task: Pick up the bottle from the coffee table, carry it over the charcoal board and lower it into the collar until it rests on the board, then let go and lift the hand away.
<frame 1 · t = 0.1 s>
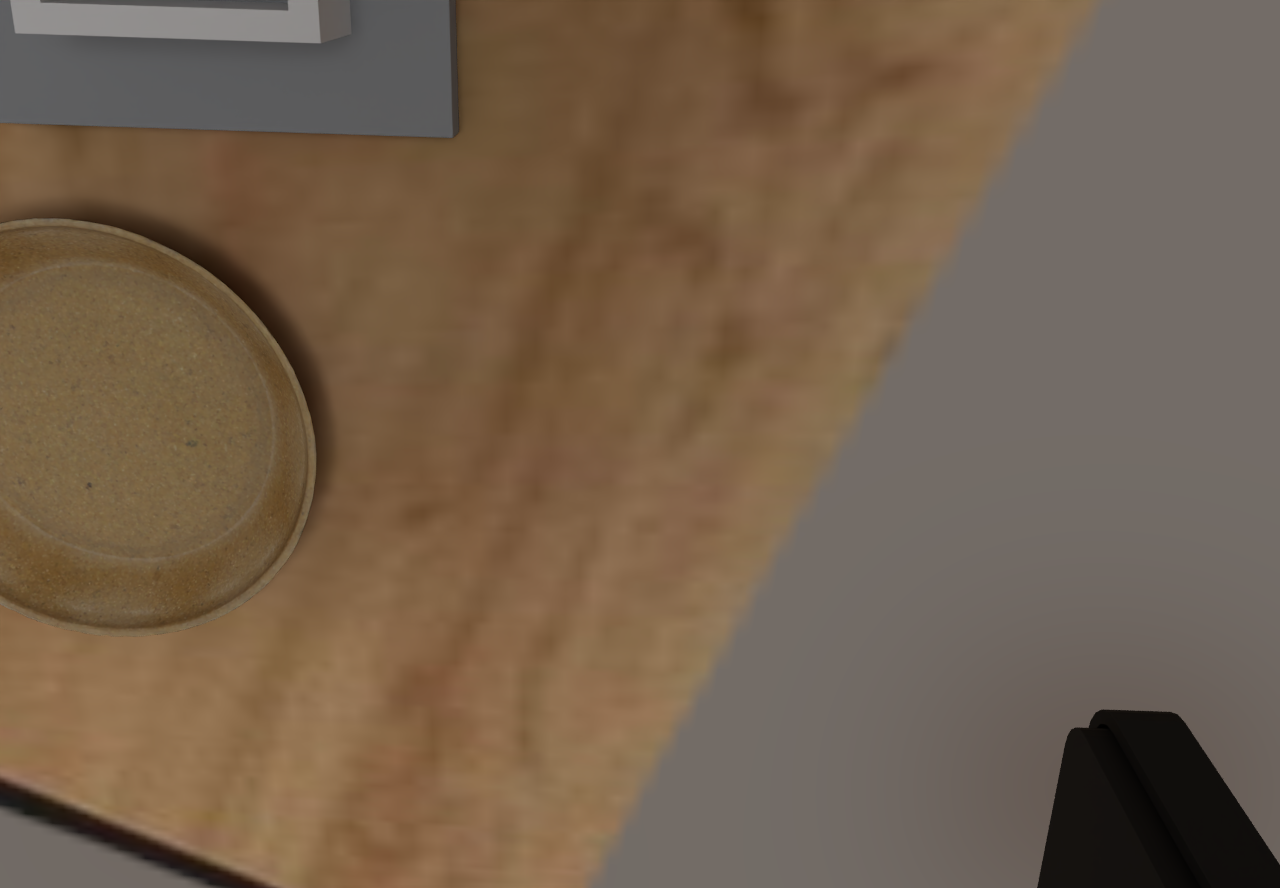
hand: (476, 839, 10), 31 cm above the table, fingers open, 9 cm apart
plant saucer: (123, 412, 43), on the table
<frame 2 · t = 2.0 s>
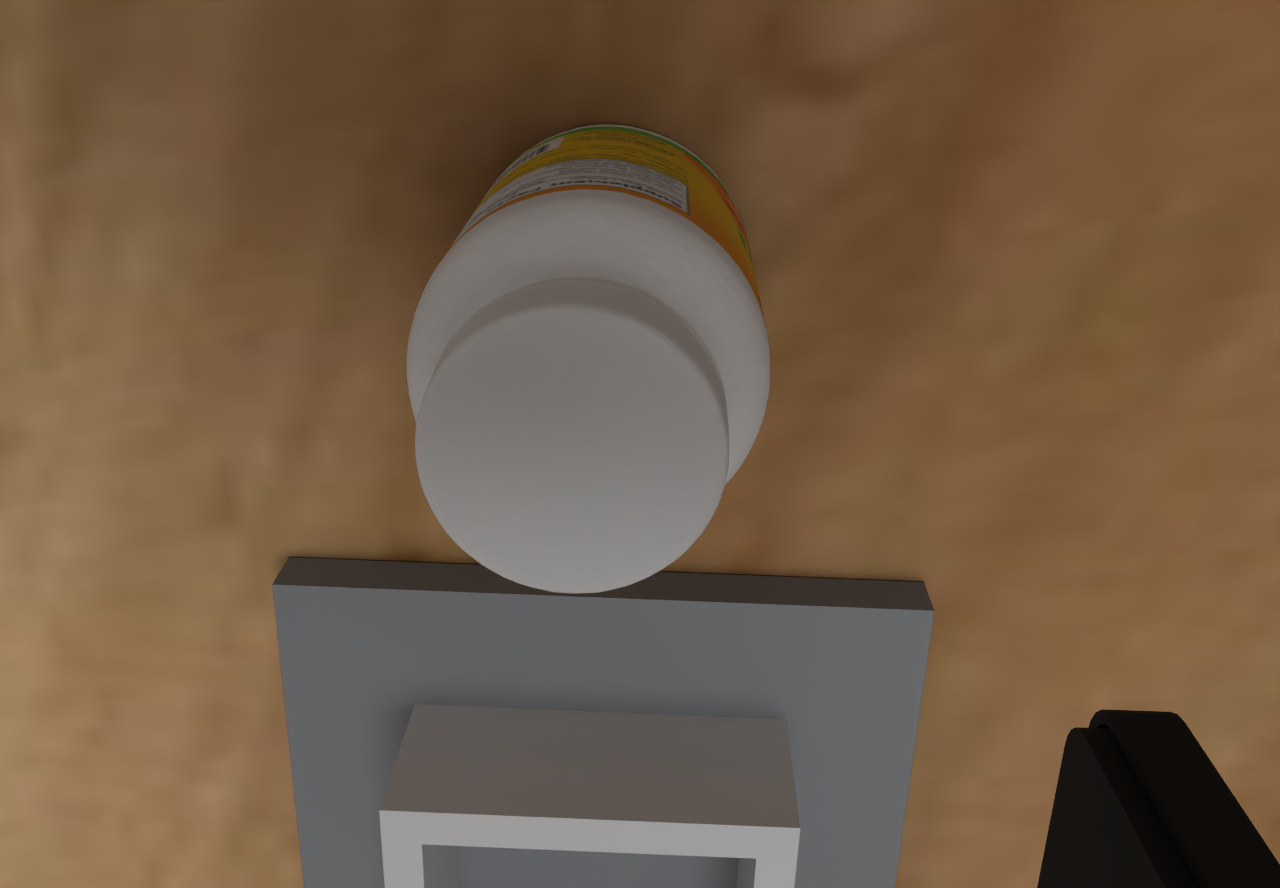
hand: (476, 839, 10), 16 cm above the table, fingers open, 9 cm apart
bottle holder: (600, 821, 30), on the table
supplement bottle: (611, 256, 24), on the table
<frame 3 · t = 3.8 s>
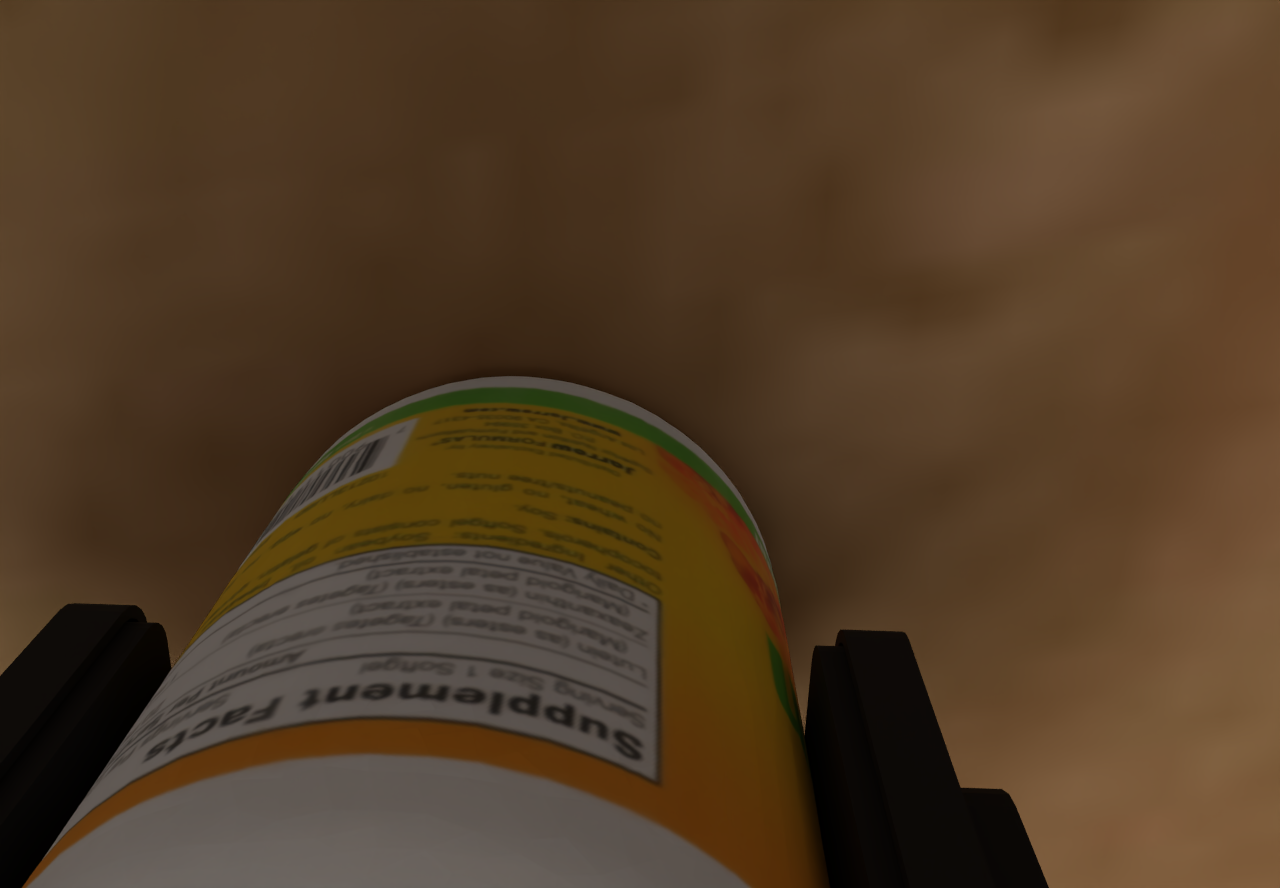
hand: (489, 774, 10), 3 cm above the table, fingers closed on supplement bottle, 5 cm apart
supplement bottle: (528, 589, 13), on the table, touching gripper
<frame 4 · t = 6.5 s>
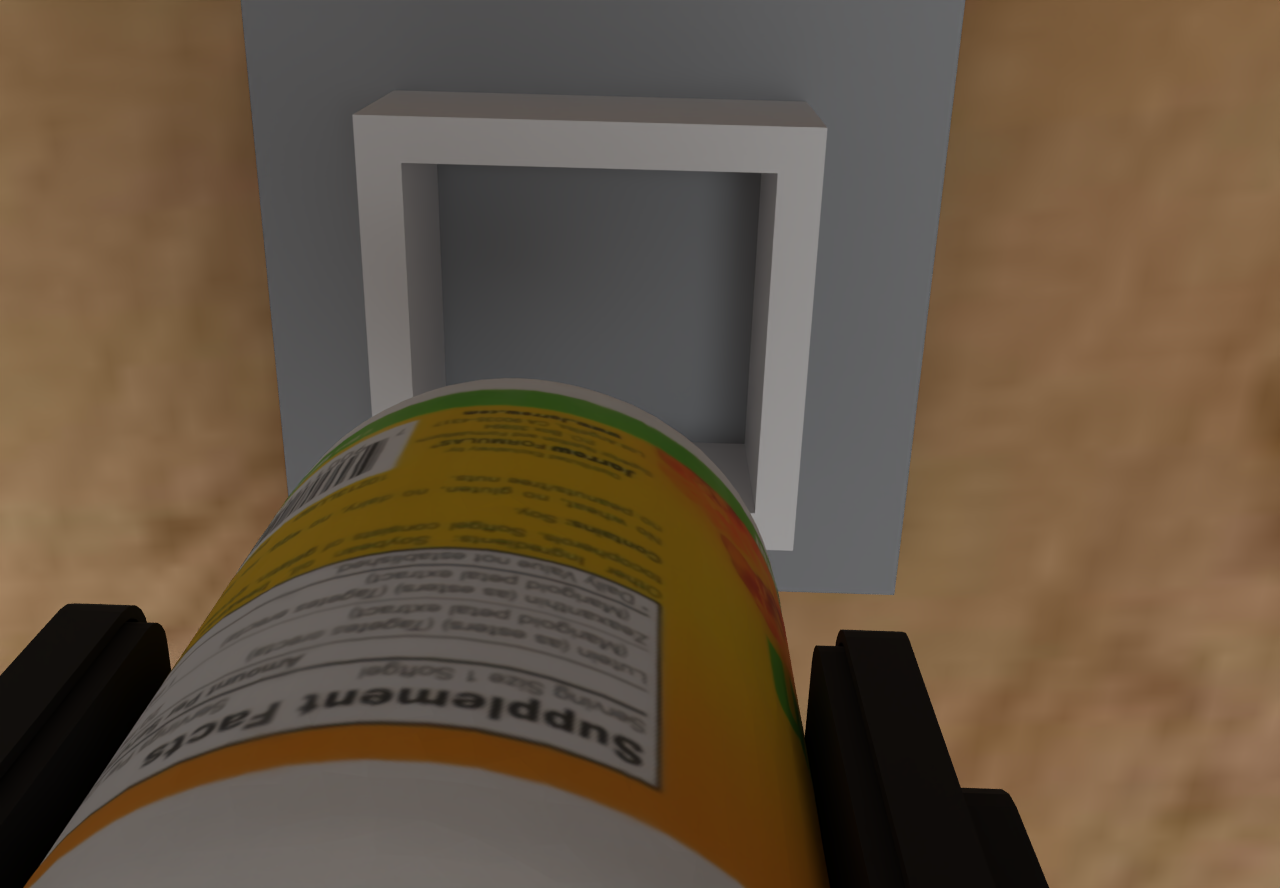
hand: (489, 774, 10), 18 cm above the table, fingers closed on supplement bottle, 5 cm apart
bottle holder: (600, 280, 27), on the table
supplement bottle: (527, 591, 13), point 15 cm above the table, touching gripper
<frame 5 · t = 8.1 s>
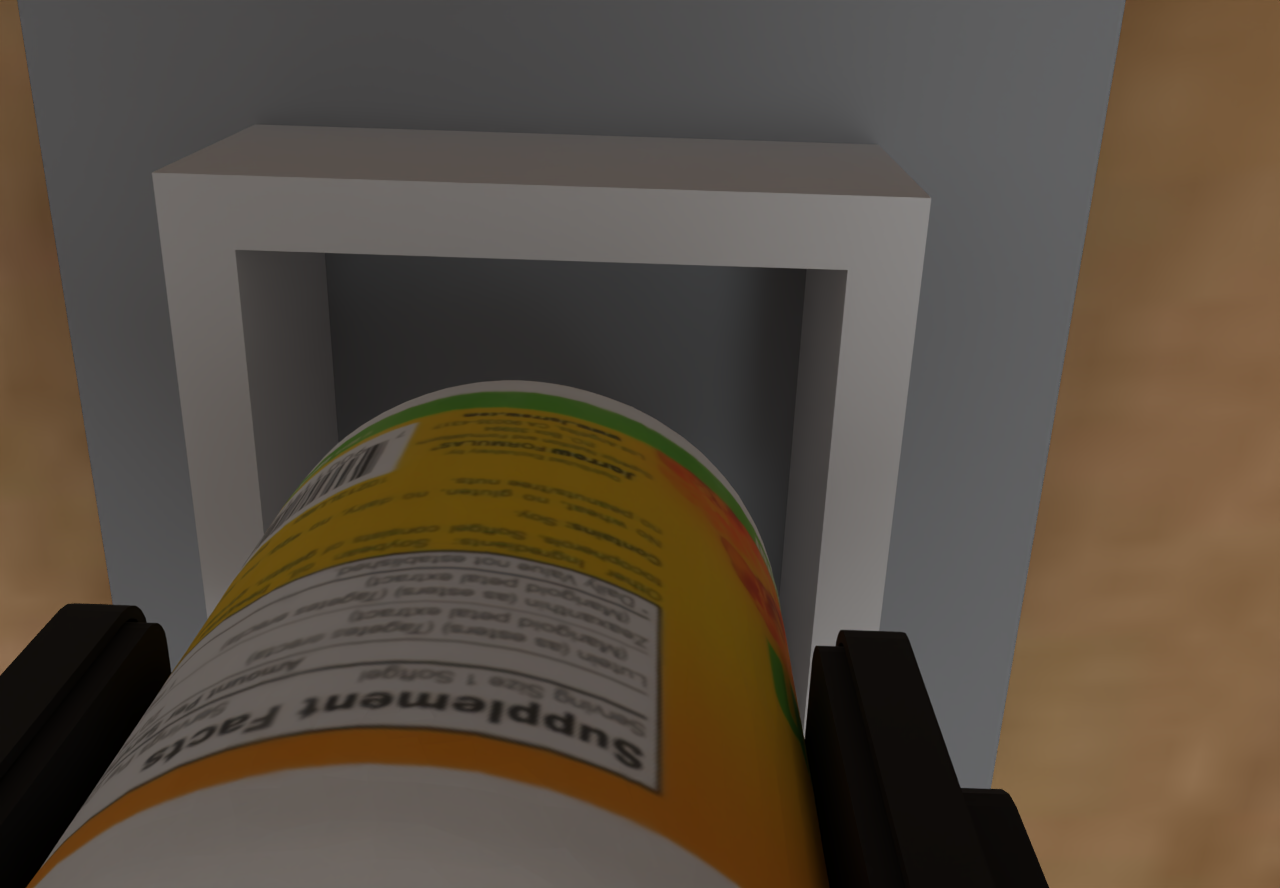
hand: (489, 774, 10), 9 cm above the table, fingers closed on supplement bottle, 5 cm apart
bottle holder: (570, 394, 19), on the table
supplement bottle: (528, 593, 13), point 6 cm above the table, touching gripper
when the fingers open (6 cm above the table, at t = 9.2 s): supplement bottle drops 2 cm, resting on bottle holder.
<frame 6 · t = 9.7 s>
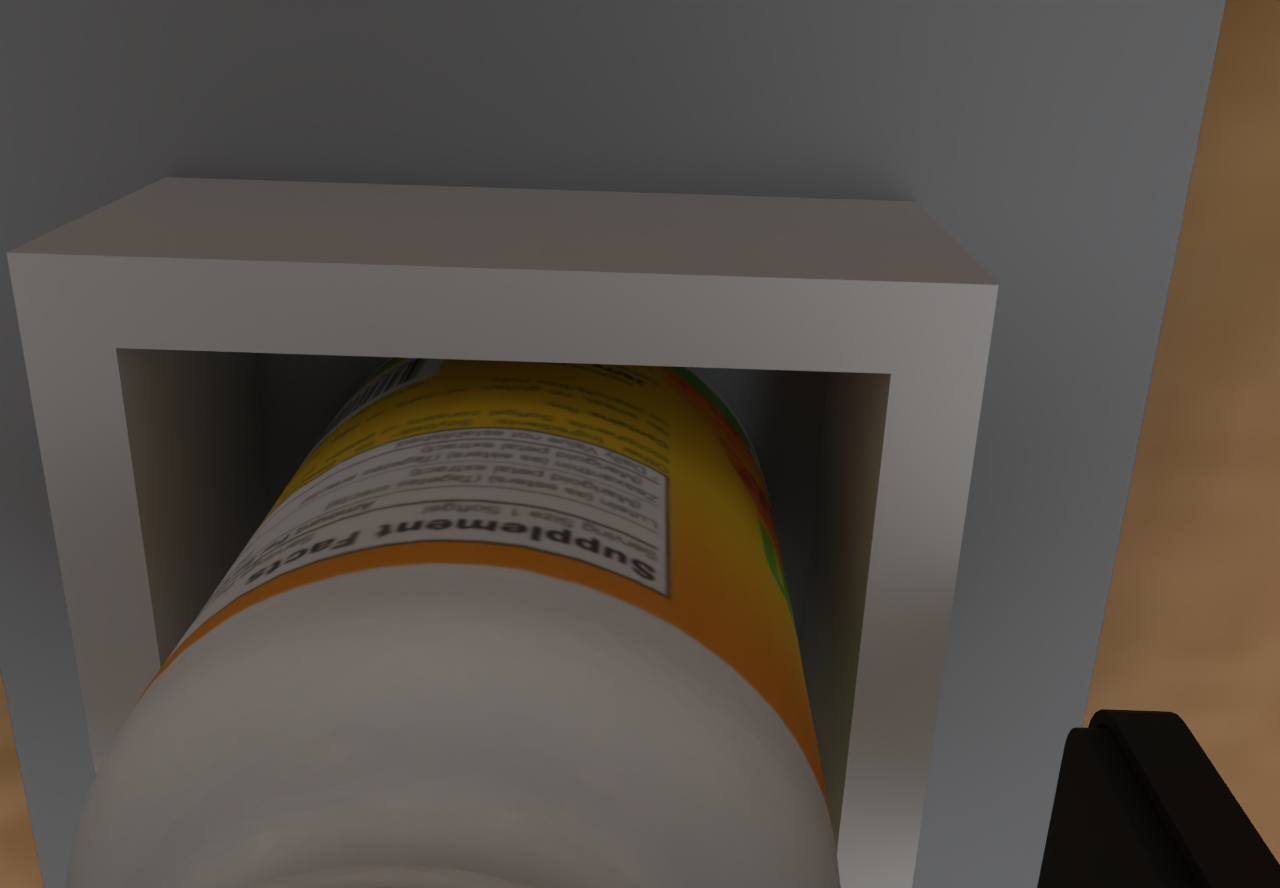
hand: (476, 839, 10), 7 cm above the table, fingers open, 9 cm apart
bottle holder: (549, 486, 16), on the table
supplement bottle: (546, 505, 15), point 1 cm above the table, touching bottle holder
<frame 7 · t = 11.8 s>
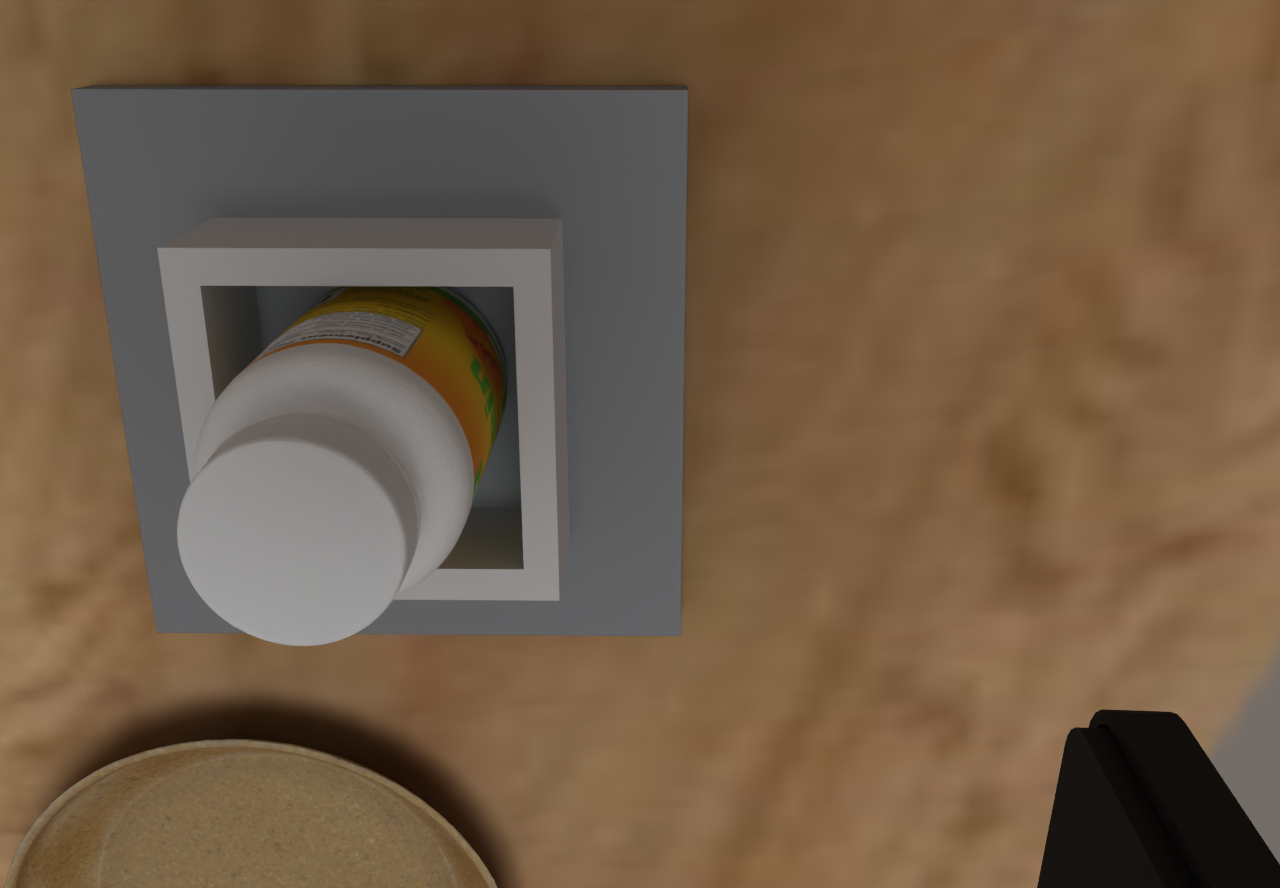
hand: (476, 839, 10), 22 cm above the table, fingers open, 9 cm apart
bottle holder: (409, 369, 31), on the table
supplement bottle: (402, 374, 30), point 1 cm above the table, touching bottle holder
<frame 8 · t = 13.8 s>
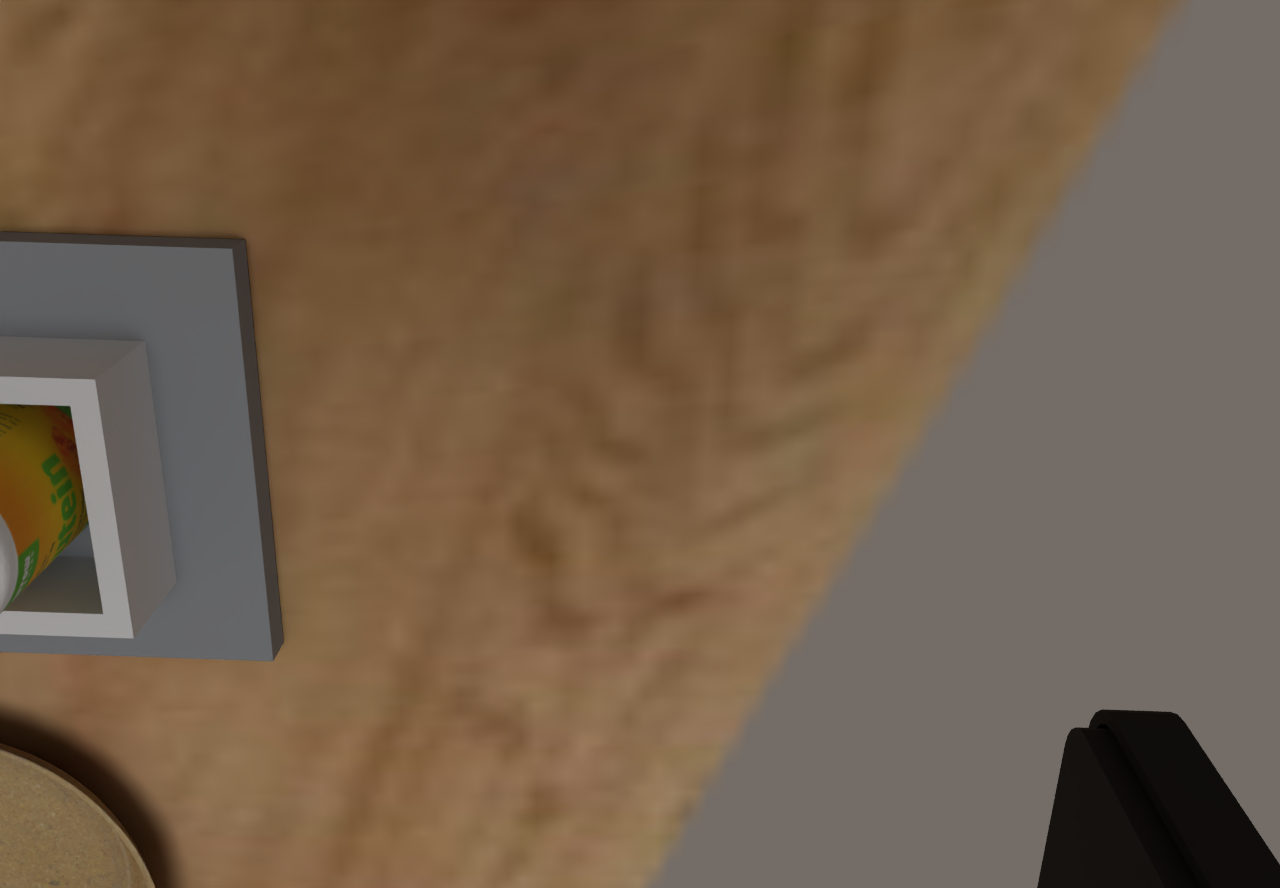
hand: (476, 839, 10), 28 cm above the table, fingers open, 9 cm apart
bottle holder: (48, 447, 39), on the table
supplement bottle: (34, 453, 38), point 1 cm above the table, touching bottle holder
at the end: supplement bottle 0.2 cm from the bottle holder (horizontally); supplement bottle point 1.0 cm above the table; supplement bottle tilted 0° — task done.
